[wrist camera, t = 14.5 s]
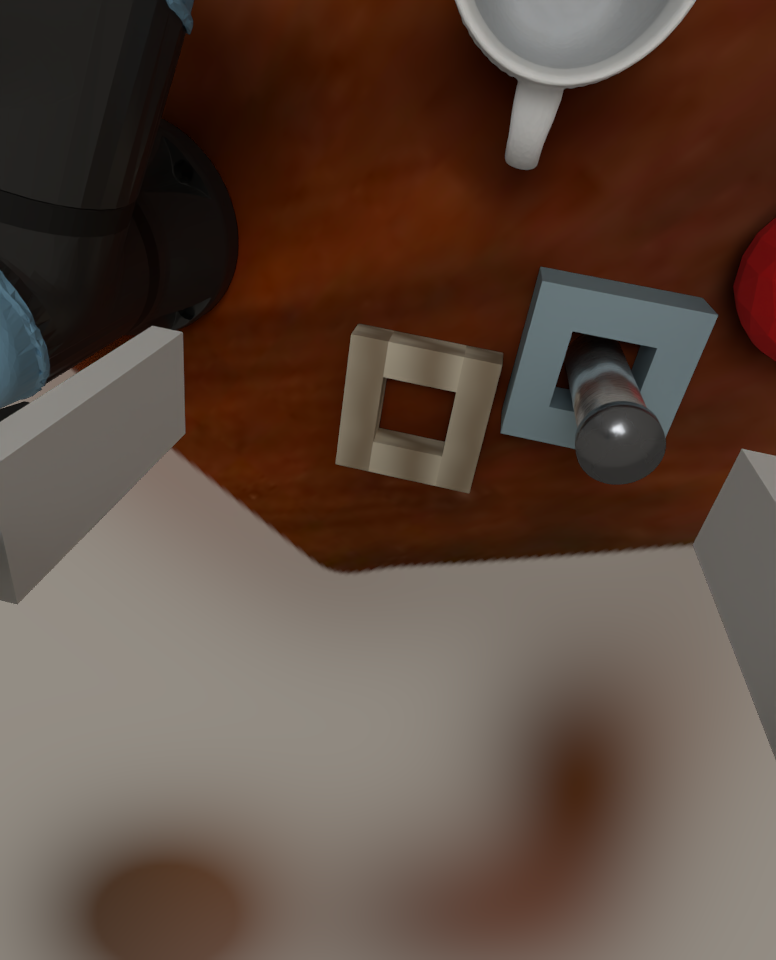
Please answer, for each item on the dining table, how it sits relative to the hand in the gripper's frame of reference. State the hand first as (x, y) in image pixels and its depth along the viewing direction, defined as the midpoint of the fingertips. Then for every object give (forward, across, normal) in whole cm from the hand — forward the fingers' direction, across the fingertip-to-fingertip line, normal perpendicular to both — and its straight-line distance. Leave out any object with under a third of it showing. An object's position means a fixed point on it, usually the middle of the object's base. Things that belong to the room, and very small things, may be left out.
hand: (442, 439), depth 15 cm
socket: (+33, +10, -8) cm, 35 cm away
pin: (+33, +9, -8) cm, 35 cm away
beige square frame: (+33, -2, -14) cm, 36 cm away
